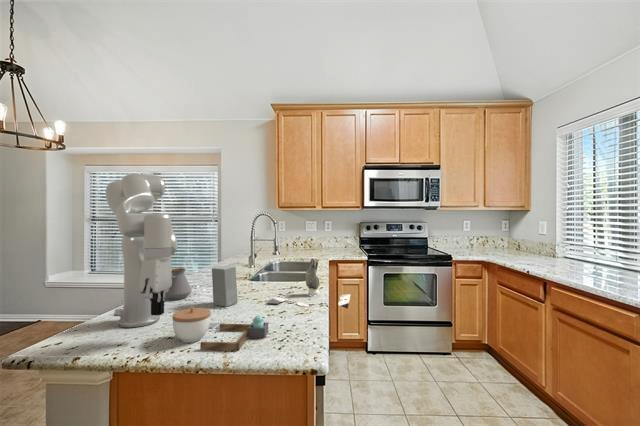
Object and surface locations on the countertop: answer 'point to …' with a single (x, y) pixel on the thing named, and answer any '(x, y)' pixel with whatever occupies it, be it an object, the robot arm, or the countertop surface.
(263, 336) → the dark grey open box
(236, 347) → the walnut bay
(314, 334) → the countertop surface
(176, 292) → the coffee pot
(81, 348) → the countertop surface
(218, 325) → the space tiles
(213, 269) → the skincare box
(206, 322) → the lidded jar
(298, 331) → the countertop surface
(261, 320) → the dome
